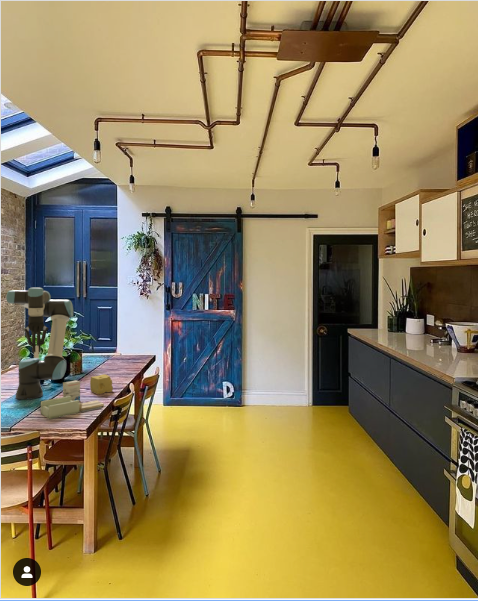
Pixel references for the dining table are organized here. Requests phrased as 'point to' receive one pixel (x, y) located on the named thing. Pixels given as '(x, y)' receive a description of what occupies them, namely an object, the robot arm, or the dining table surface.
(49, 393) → the dining table surface
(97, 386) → the cheese
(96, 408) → the rubber mat
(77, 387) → the ink box
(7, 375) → the dining table surface
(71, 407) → the sage box
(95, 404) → the cover plate
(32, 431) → the dining table surface
